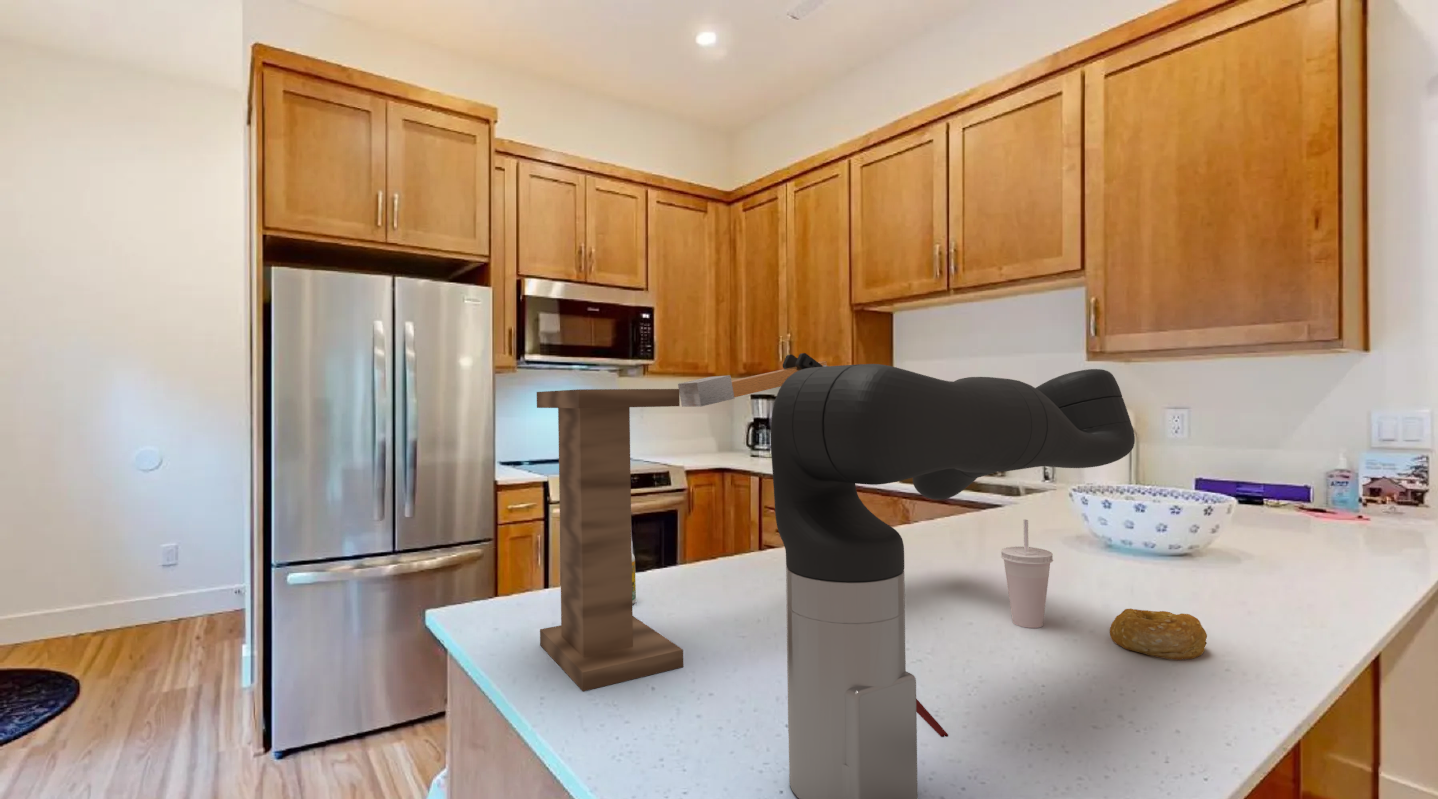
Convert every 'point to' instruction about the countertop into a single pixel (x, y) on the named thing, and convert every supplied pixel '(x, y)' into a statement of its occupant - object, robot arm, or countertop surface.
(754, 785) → the countertop surface
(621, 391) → the wooden pedestal
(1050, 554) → the smoothie
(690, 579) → the countertop surface
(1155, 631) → the bagel
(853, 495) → the robot arm
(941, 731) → the chopstick
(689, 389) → the wooden handled hammer
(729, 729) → the countertop surface
